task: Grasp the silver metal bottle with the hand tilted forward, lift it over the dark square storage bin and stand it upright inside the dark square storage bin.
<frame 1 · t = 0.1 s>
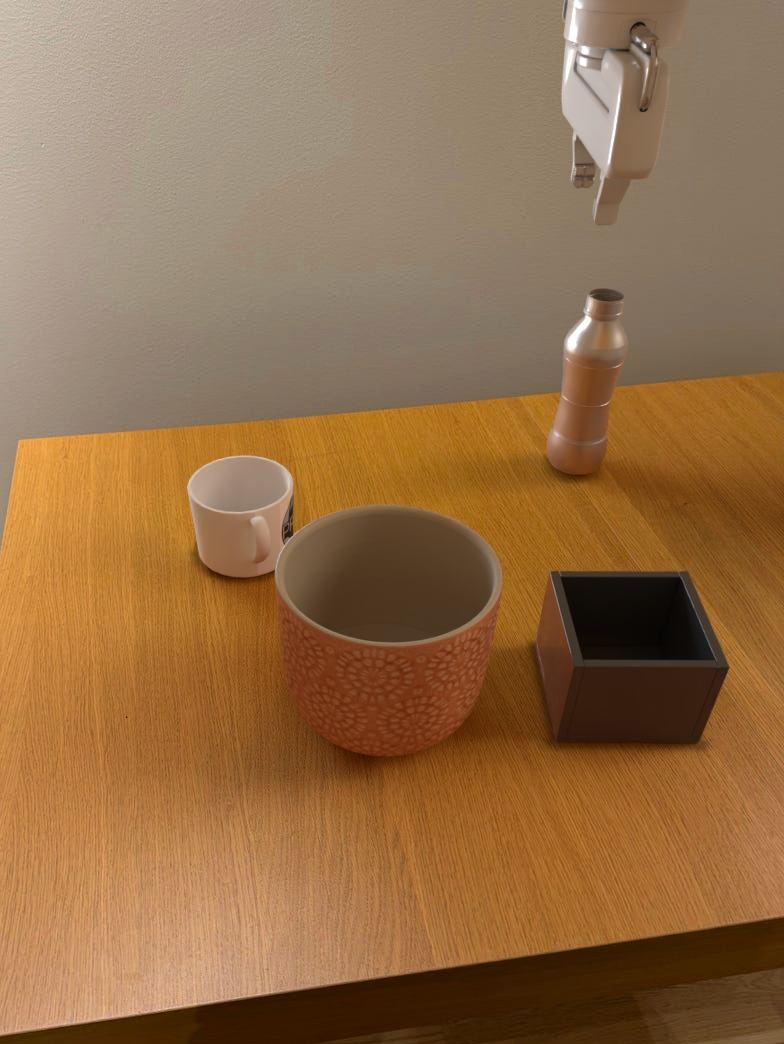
hand: (591, 203, 80), 31 cm above the table, tool pointing down, fingers open, 8 cm apart
silver metal bottle: (571, 468, 106), on the table
planter: (381, 708, 79), on the table
mug: (249, 558, 95), on the table
dark square storage bin: (611, 692, 80), on the table
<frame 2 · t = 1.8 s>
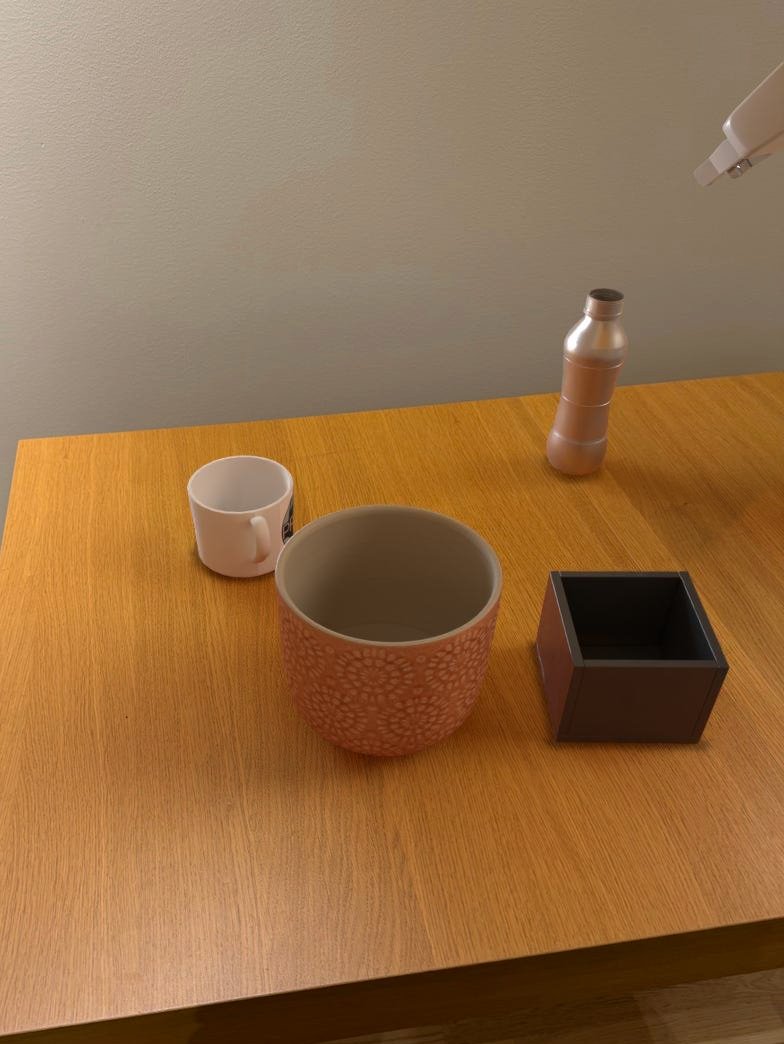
hand: (715, 176, 87), 30 cm above the table, tool tilted 40°, fingers open, 8 cm apart
nothing on the table moved.
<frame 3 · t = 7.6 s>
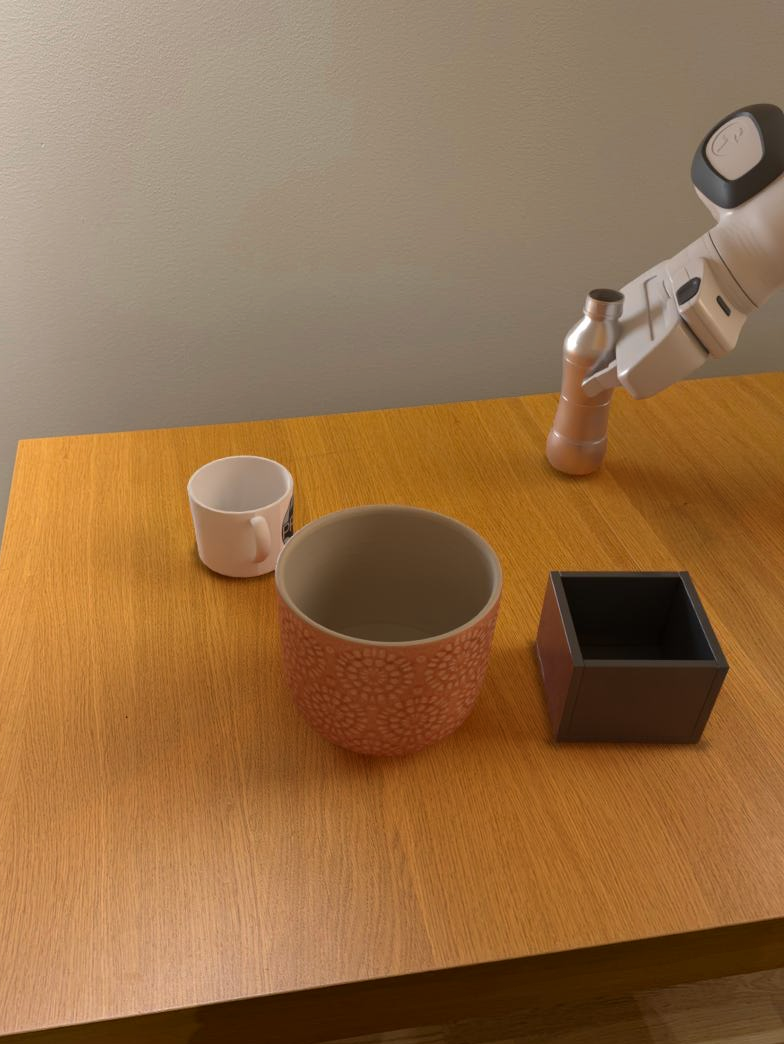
hand: (584, 374, 98), 11 cm above the table, tool tilted 45°, fingers closed on silver metal bottle, 6 cm apart
silver metal bottle: (571, 467, 106), on the table, touching gripper
everything else where it was.
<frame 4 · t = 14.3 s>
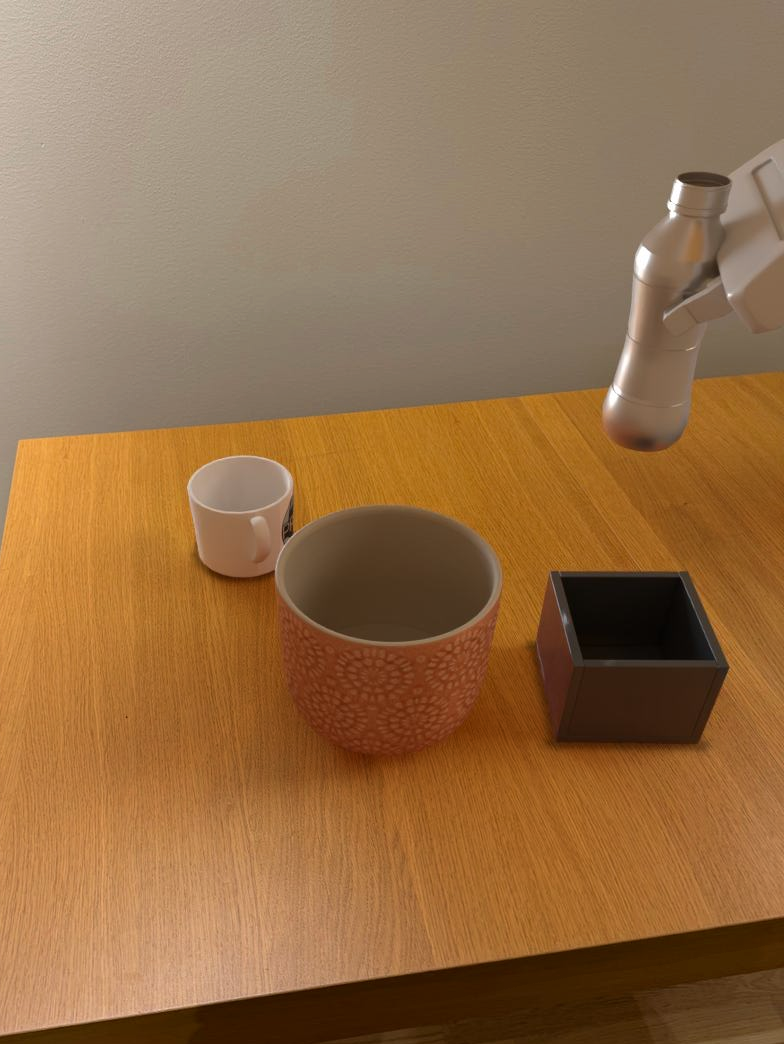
hand: (663, 305, 68), 29 cm above the table, tool tilted 45°, fingers closed on silver metal bottle, 6 cm apart
silver metal bottle: (637, 443, 76), point 18 cm above the table, touching gripper
everything else where it was.
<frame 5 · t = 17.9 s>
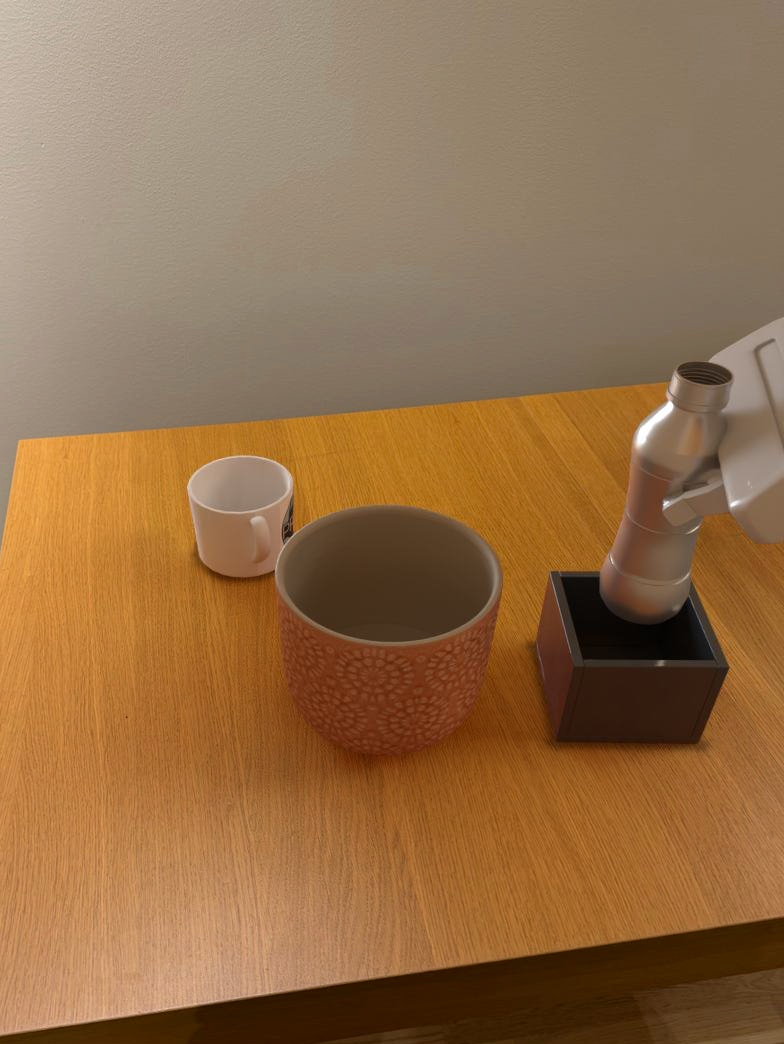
hand: (662, 485, 65), 21 cm above the table, tool tilted 45°, fingers closed on silver metal bottle, 6 cm apart
silver metal bottle: (635, 609, 73), point 10 cm above the table, touching gripper
everything else where it was.
when the fingers open (12 cm above the table, at t = 20.9 s): silver metal bottle stays where it is, resting on dark square storage bin.
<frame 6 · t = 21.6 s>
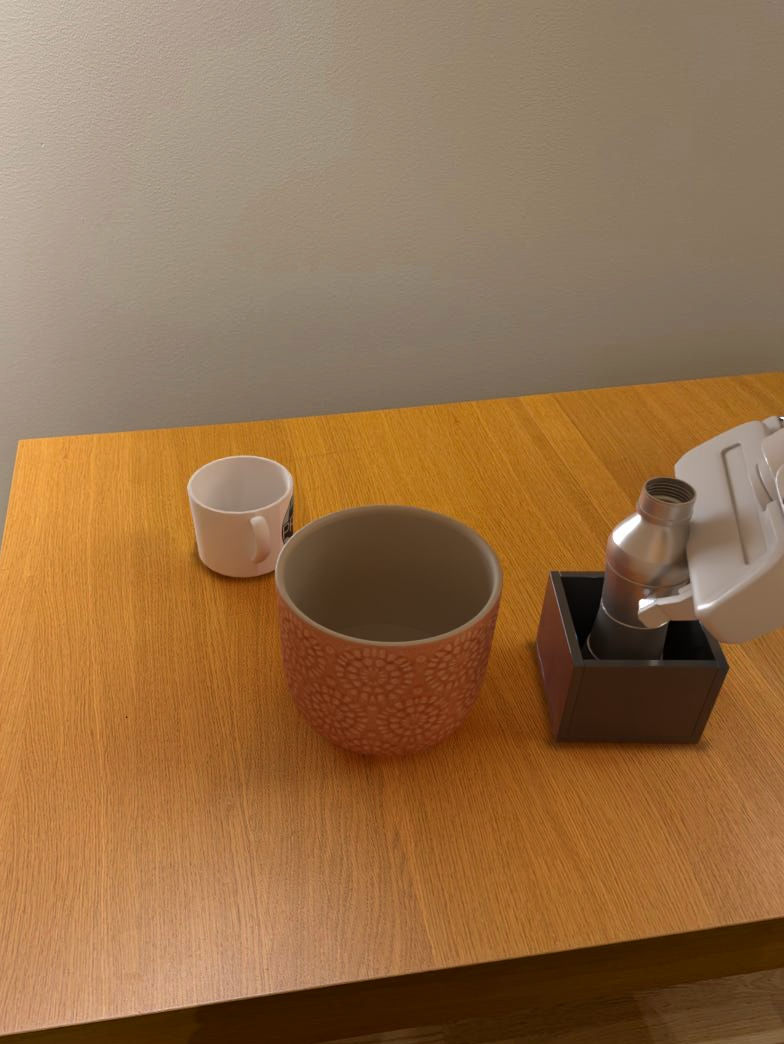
hand: (638, 576, 71), 13 cm above the table, tool tilted 45°, fingers open, 8 cm apart
silver metal bottle: (612, 688, 79), point 1 cm above the table, touching dark square storage bin
everything else where it was.
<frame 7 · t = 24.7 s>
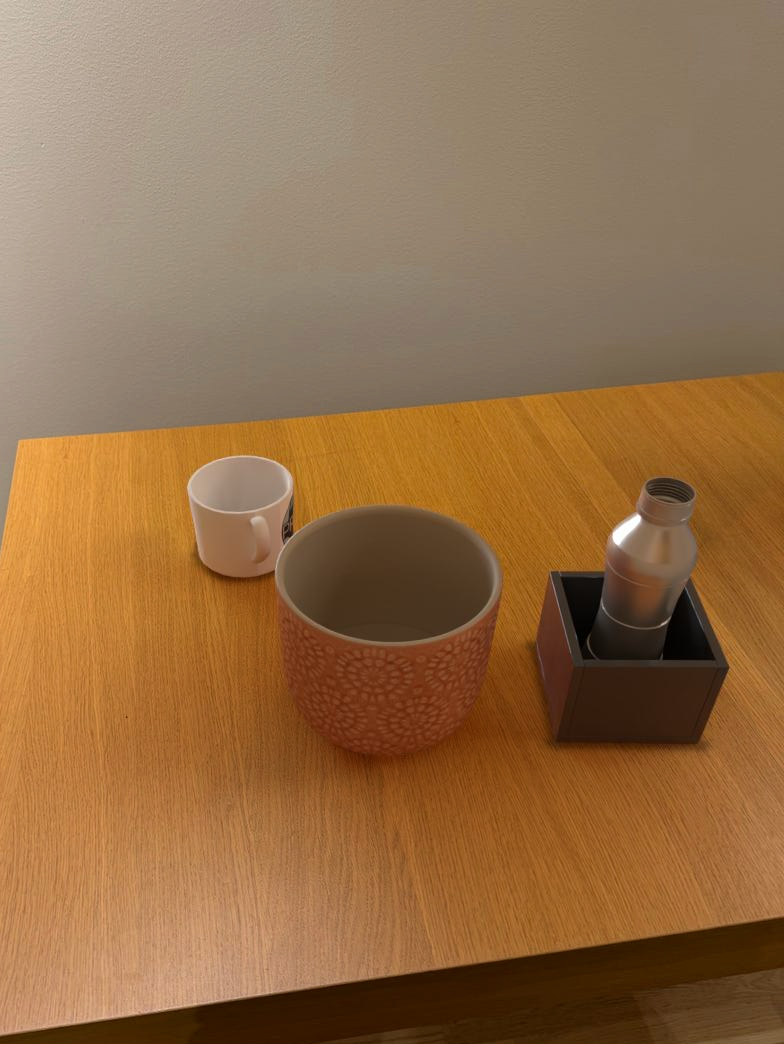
nothing on the table moved.
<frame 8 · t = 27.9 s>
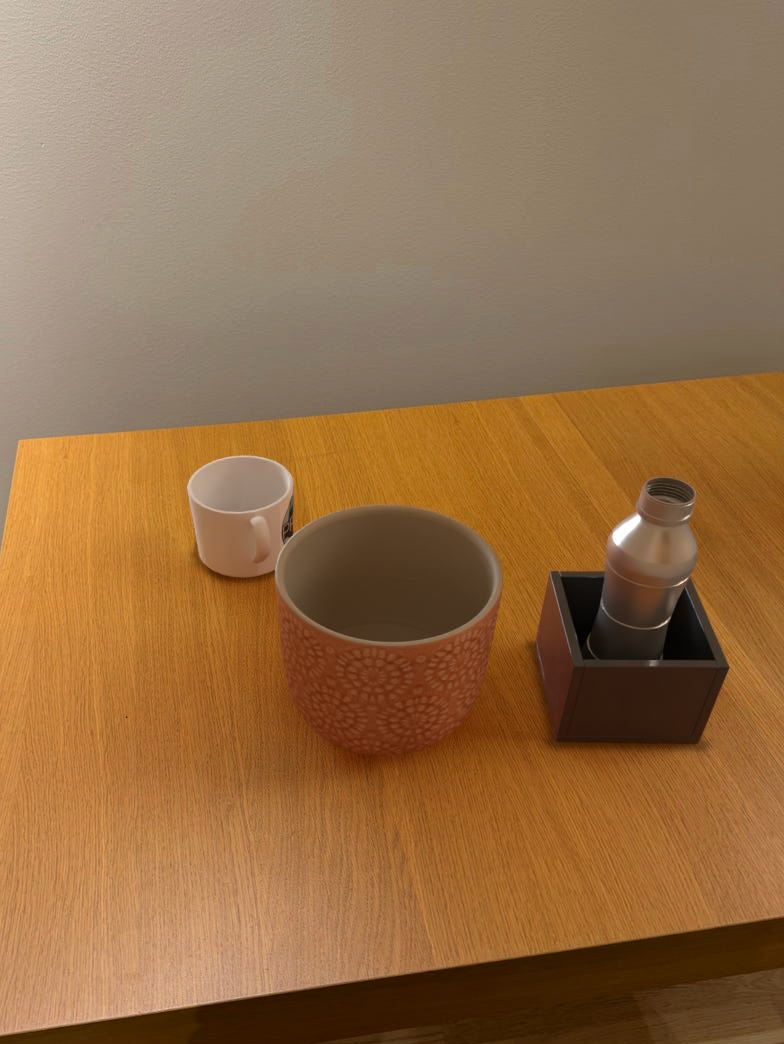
nothing on the table moved.
at the end: silver metal bottle inside the target area in the dark square storage bin (0.1 cm from its centre), point 0.6 cm above the dark square storage bin's base; silver metal bottle tilted 0°; the gripper is holding nothing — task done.
